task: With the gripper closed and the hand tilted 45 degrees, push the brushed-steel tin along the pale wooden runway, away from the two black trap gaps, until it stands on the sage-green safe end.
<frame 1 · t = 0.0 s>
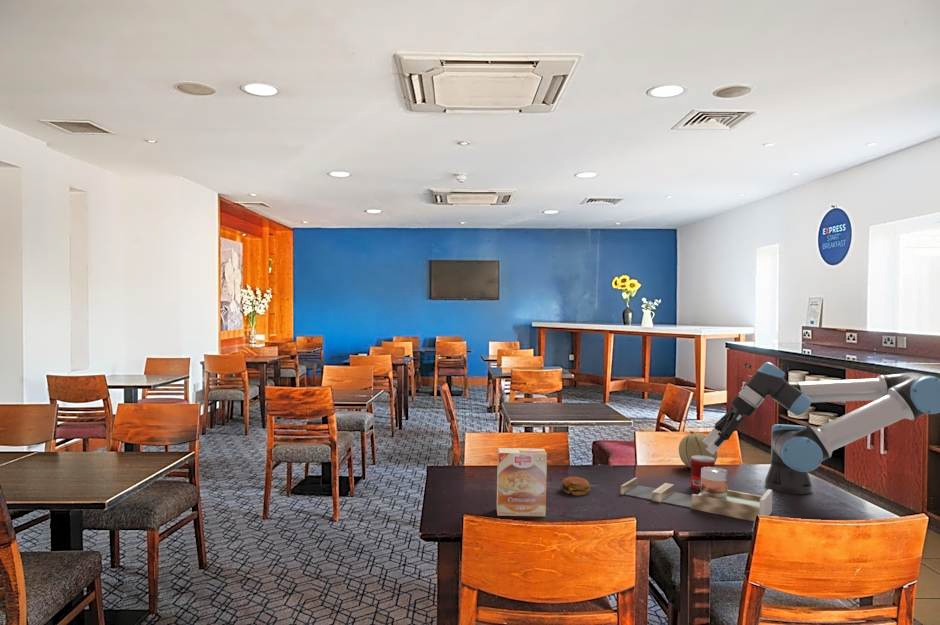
hand: (707, 447, 218), 15 cm above the table, tool tilted 35°, fingers open, 13 cm apart
runway: (694, 503, 205), on the table
canned food: (702, 488, 222), on the table
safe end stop: (744, 512, 196), on the table
coffeecake box: (520, 513, 192), on the table
burger: (575, 492, 215), on the table
tin: (713, 497, 201), point 3 cm above the table, touching runway
cantaloupe: (697, 469, 248), on the table
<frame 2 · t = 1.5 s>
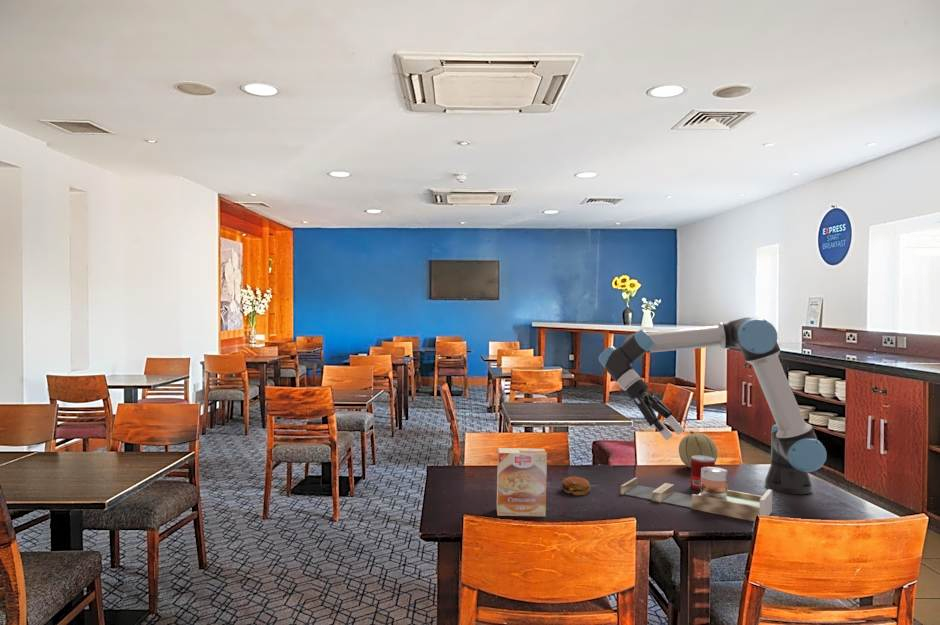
hand: (675, 435, 208), 22 cm above the table, tool tilted 45°, fingers open, 11 cm apart
nothing on the table moved.
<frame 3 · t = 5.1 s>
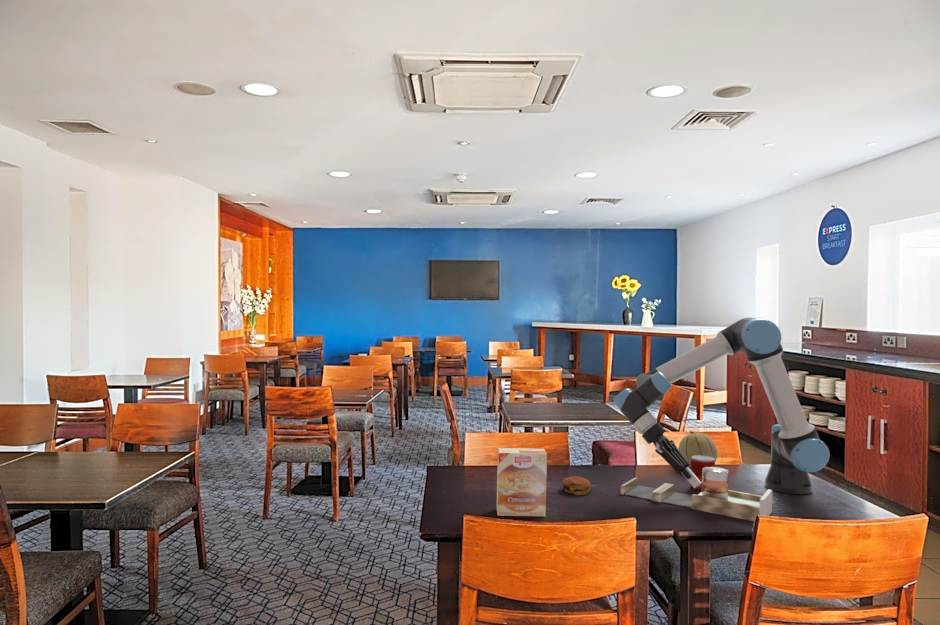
hand: (698, 485, 204), 6 cm above the table, tool tilted 45°, fingers closed
tin: (714, 497, 201), point 3 cm above the table, touching gripper
everything else where it was.
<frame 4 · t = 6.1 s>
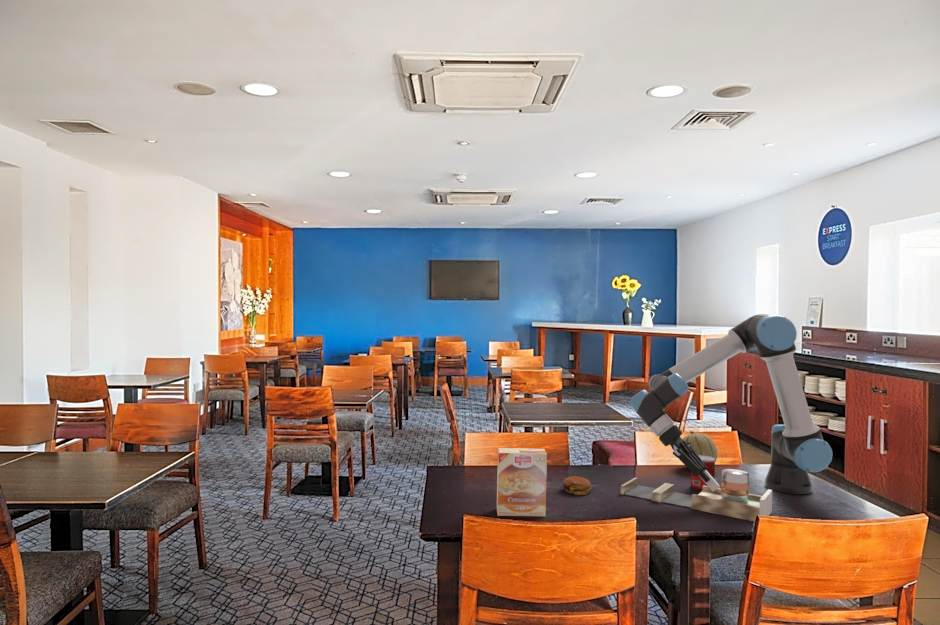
hand: (716, 488, 200), 6 cm above the table, tool tilted 45°, fingers closed
tin: (734, 500, 199), point 3 cm above the table, touching gripper, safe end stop
everything else where it was.
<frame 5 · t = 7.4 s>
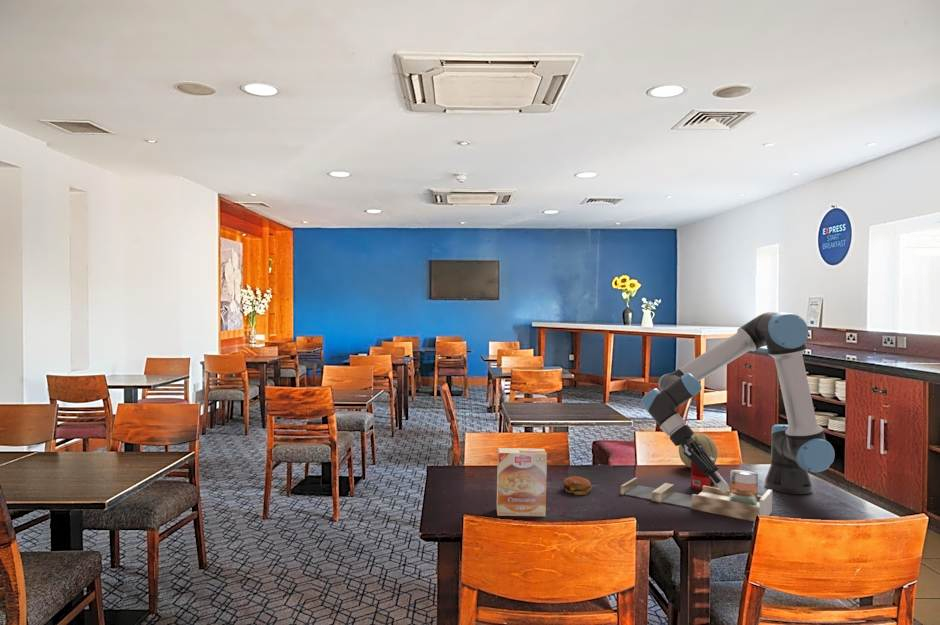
hand: (727, 490, 197), 6 cm above the table, tool tilted 45°, fingers closed
tin: (742, 501, 197), point 3 cm above the table, touching gripper, runway
everything else where it was.
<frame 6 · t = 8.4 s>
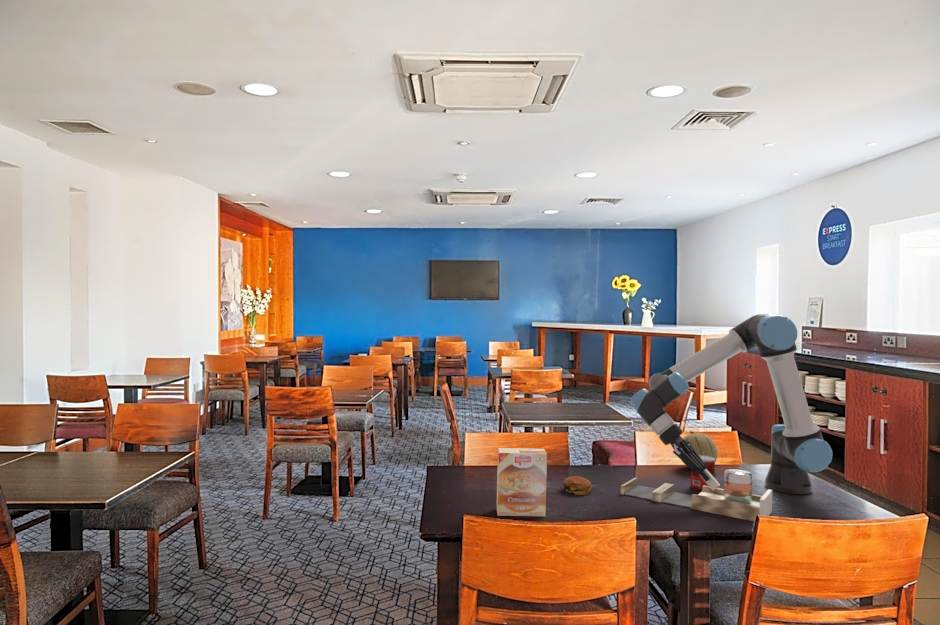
hand: (716, 487, 200), 6 cm above the table, tool tilted 45°, fingers closed
tin: (737, 500, 198), point 3 cm above the table, touching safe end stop
everything else where it was.
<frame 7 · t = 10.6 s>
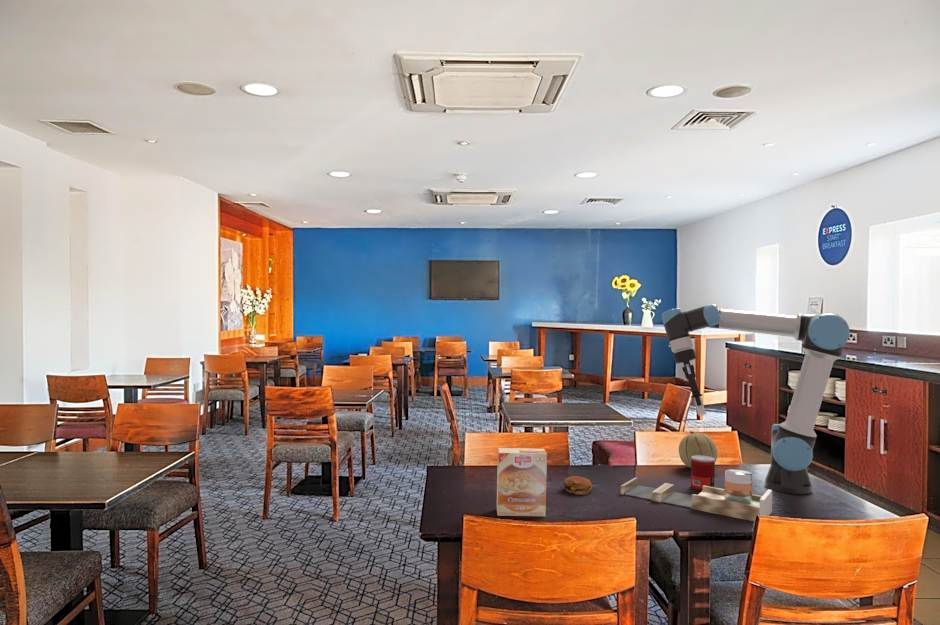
hand: (702, 414, 219), 27 cm above the table, tool tilted 20°, fingers closed
tin: (737, 500, 198), point 3 cm above the table, touching runway, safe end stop
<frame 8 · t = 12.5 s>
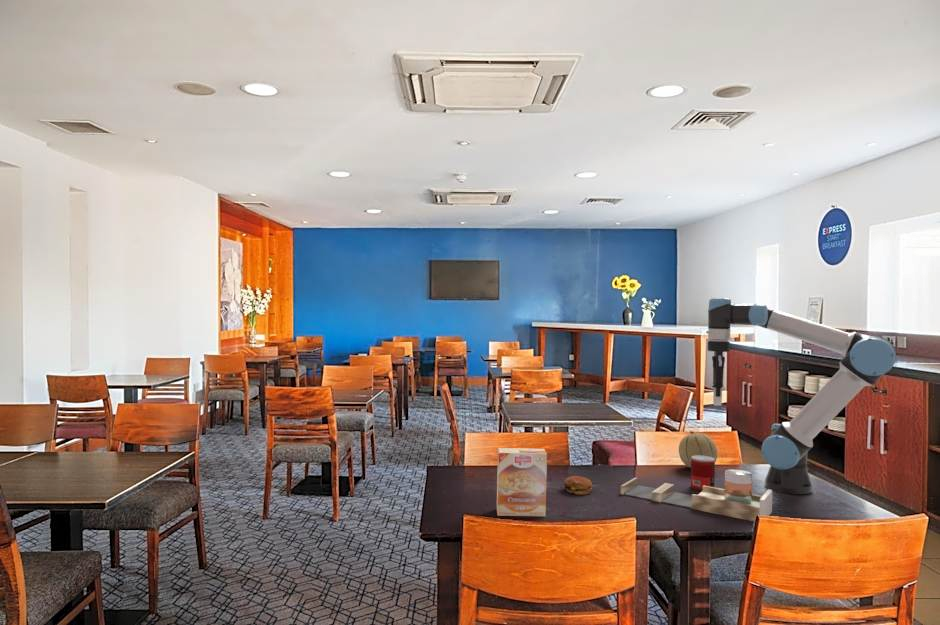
hand: (717, 405, 225), 29 cm above the table, tool pointing down, fingers closed
at the end: tin 2.8 cm from the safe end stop (horizontally); tin point 3.0 cm above the table; tin tilted 0° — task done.
